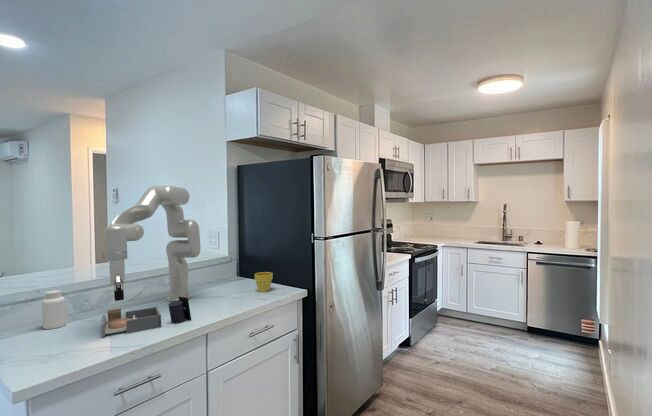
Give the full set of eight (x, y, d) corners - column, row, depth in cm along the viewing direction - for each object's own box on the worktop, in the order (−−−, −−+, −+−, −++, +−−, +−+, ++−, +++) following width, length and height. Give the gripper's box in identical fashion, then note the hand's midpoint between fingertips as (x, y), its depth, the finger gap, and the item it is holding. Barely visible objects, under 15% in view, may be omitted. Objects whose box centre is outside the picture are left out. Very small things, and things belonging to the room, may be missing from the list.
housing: (157, 317, 159) (157, 306, 159) (161, 327, 146) (160, 315, 146) (125, 323, 153) (125, 311, 153) (126, 333, 140) (126, 320, 140)
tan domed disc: (108, 324, 146) (108, 320, 146) (129, 321, 150) (129, 316, 150) (108, 330, 140) (108, 325, 140) (130, 326, 144) (130, 321, 144)
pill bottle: (40, 331, 146) (39, 294, 146) (45, 325, 153) (44, 290, 153) (64, 327, 149) (63, 292, 149) (67, 322, 156) (66, 288, 156)
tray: (137, 320, 155) (136, 309, 155) (139, 330, 142) (138, 318, 142) (103, 326, 148) (102, 315, 148) (102, 337, 136) (101, 324, 136)
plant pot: (276, 289, 205) (276, 273, 205) (262, 293, 197) (262, 276, 197) (265, 287, 212) (264, 271, 212) (251, 291, 204) (250, 274, 204)
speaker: (186, 316, 159) (183, 294, 157) (191, 320, 154) (188, 297, 153) (168, 322, 154) (166, 299, 152) (173, 326, 149) (171, 302, 148)
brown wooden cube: (108, 321, 155) (107, 310, 155) (121, 319, 158) (120, 308, 158) (107, 324, 151) (107, 313, 151) (121, 322, 154) (121, 311, 154)
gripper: (106, 254, 150) (108, 294, 151) (105, 260, 135) (108, 304, 136) (126, 252, 154) (128, 291, 155) (128, 257, 139) (130, 300, 140)
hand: (119, 297), depth 146 cm, fingers open, 9 cm apart
